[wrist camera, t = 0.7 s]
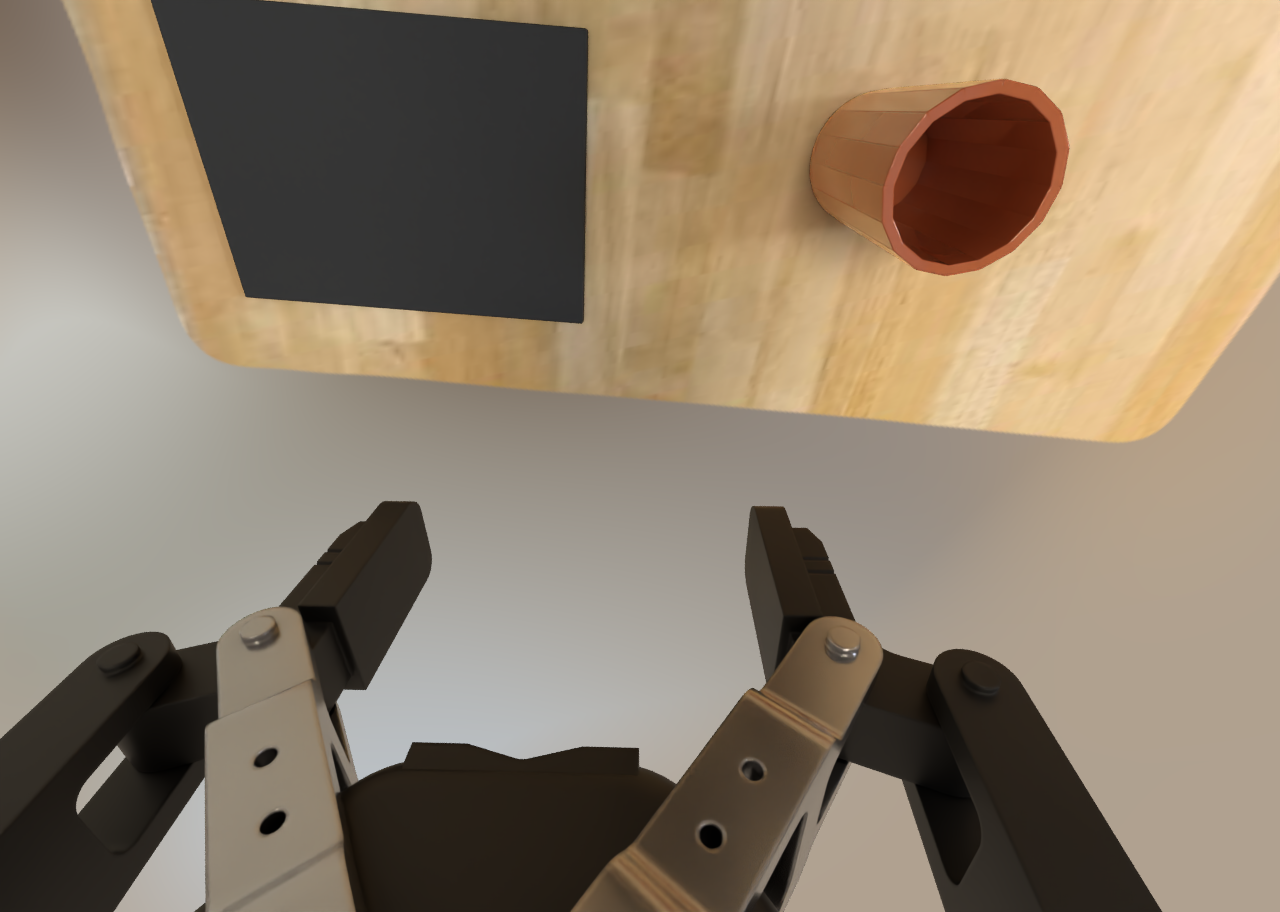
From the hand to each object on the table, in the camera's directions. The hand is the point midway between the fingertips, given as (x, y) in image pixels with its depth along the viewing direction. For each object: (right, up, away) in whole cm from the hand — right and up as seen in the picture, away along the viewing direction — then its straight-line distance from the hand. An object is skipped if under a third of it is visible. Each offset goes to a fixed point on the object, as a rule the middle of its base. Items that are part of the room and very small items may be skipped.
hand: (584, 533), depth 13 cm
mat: (-12, +17, +16) cm, 26 cm away
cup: (+13, +17, +15) cm, 26 cm away
